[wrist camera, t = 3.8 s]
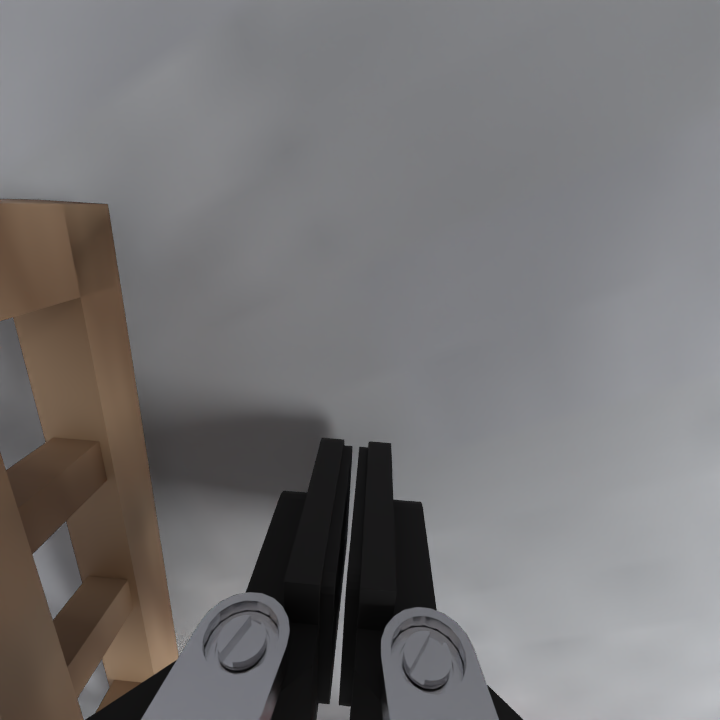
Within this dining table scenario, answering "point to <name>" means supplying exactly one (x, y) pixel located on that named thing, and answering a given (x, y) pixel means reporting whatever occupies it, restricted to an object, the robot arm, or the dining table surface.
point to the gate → (76, 472)
